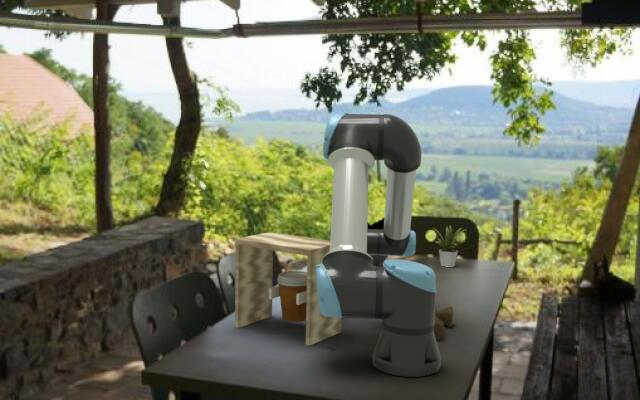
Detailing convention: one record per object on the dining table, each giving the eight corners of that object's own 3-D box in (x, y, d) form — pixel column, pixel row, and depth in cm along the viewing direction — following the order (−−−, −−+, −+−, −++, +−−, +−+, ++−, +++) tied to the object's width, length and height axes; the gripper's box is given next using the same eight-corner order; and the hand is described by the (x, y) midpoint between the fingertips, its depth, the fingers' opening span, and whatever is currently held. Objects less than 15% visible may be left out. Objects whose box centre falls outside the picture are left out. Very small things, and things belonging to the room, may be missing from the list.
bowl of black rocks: (333, 269, 254) (334, 218, 252) (347, 259, 273) (348, 212, 271) (386, 274, 248) (388, 222, 246) (397, 263, 267) (398, 215, 265)
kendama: (414, 341, 174) (417, 317, 194) (453, 345, 173) (452, 320, 192) (416, 318, 173) (418, 296, 193) (455, 322, 172) (453, 299, 191)
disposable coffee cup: (280, 325, 177) (281, 279, 175) (273, 315, 186) (273, 271, 184) (316, 323, 179) (317, 277, 178) (307, 313, 188) (308, 269, 187)
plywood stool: (269, 315, 192) (270, 232, 190) (341, 332, 179) (343, 242, 176) (235, 327, 181) (235, 238, 178) (309, 345, 167) (310, 250, 165)
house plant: (477, 269, 258) (479, 226, 256) (445, 272, 253) (447, 228, 251) (456, 262, 271) (457, 221, 270) (425, 264, 266) (426, 222, 264)
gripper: (364, 299, 191) (316, 318, 172) (303, 287, 203) (252, 303, 184) (365, 273, 190) (317, 288, 171) (303, 262, 202) (252, 276, 183)
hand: (283, 296), depth 178 cm, fingers closed on disposable coffee cup, 8 cm apart
